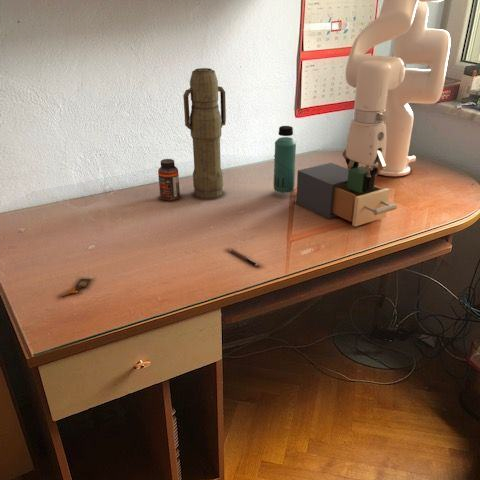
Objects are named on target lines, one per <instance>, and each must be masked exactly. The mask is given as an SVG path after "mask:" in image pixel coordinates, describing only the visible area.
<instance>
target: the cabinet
mask: <svg viewBox="0 0 480 480" xmlns="http://www.w3.org/2000/svg"><path fill="white" fill-rule="evenodd" d="M348 171H349V170H348V167H344V166H341V165H339V164H335V163H333V162H328V163H323V164H320V165H315V166H310V167H307V168H302V169H298V170H297V176H296V177H297V179H296V196H295V197H296V198H295V202H296V203H297V204H298V205H300V206H302V207H304V208H307V209H309V210H310V211H313V212H314V213H317V214H319V215H321V216H322V217H325V218H327V219H332V218H336V217H338V216H337V215H335V214H333V213H332V203H333V192H334V187H336V186H340V185H344V184H347V181H348Z"/></svg>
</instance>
